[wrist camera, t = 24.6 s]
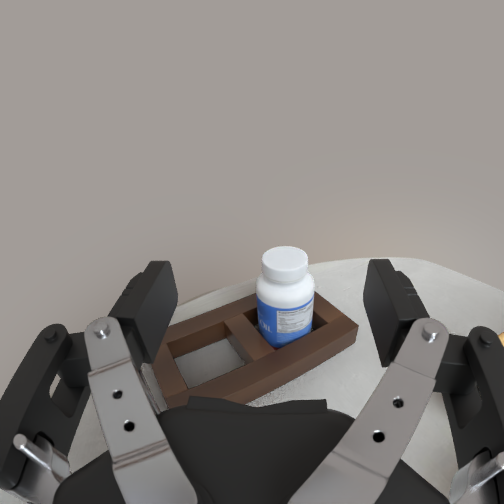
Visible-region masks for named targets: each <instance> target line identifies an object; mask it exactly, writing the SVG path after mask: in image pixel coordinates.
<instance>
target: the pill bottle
mask: <svg viewBox="0 0 504 504" xmlns="http://www.w3.org/2000/svg"><path fill="white" fill-rule="evenodd" d="M314 288H315V284H314V279H313V277H312V276H311V274H310V273H309V272H308V256H307V254H306V253H305V252H304V251H303V250H301V249H299V248H296V247H291V246H280V247H275V248H272V249H270V250H268V251H266V252H265V253H264V254H263V256H262V273H261V274H260V275H259V277H258V279H257V281H256V299H257V310H258V323H259V333H260V334H261V335H262V336H263V338H264V339H265V340H266V341H267V342H268V343H269V344H270V346H271V347H272V348H273V349H274V350H275V351H276V350H278V349H280V348H282V347H284V346H286V345H288V344H290V343H292V342H294V341H296V340H298V339H300V338H302V337H303V336H305V335H307V334H309V333H311V327H312V315H313V302H314Z"/></svg>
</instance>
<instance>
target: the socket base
mask: <svg viewBox="0 0 504 504" xmlns="http://www.w3.org/2000/svg"><path fill="white" fill-rule="evenodd" d="M257 324H259V323H258V310H257V299H256V293H255V294H252V295H250V296H247V297H245V298H242V299H240V300H237V301H234V302H232V303H229V304H227V305H224V306H222V307H219V308H217V309H214V310H211V311H209V312H206V313H203V314H201V315H198V316H196V317H193V318H190V319H188V320H185V321H182V322H179V323H177V324H174V325H171V326H169V327H168V328H167V330H166V333H165V335H164V338H163V340H162V343H161V345H160V348H159V350H158V353H157V355H156V358H155V361H154V363H153V364H151V366H152V369H153V371H154V374H155V377H156V379H157V382H158V384H159V386H160V389H161V391H162V394H163V396H164V398H165V401H166V403H167V405H168V408H169V409H170V408H174V407H177V406H182V405H187V403H188V399H189V395H190V396H200V397H211V398H222V399H226V400H229V401H233V402H236V403H240V404H243V405H244V404H246V403H249V402H251V401H253V400H255V399H257V398H259V397H261V396H263V395H265V394H267V393H269V392H271V391H273V390H275V389H276V388H278V387H280V386H282V385H284V384H286V383H288V382H290V381H291V380H293V379H295V378H297V377H299V376H300V375H302V374H304V373H306V372H308V371H309V370H311V369H313V368H314V367H316V366H318V365H320V364H321V363H323V362H325V361H326V360H328V359H330V358H331V357H333V356H335V355H336V354H338V353H339V352H341V351H343V350H344V349H346V348H347V347H349V346H350V345H352V344H354V343H355V340H356V336H357V332H358V327H359V325H357V324H356V323H355V322H354V321H352V320H351V319H350V318H348V317H347V316H346V315H345V314H343V313H342V312H341V311H339V310H338V309H337V308H336V307H334V306H333V305H332V304H331V303H329V302H328V301H327V300H325V299H324V298H323V297H322V296H320V295H319V294H318V293H316V292H315V291H314V302H313V315H312V328H313V329H315V331H313V332H311V333H309V334H307V335H305V336H303V337H302V338H300V339H298V340H296V341H294V342H292V343H290V344H288V345H286V346H284V347H282V348H280V349H278V350H276V351H275V350H274V349H273V348H272V347H271V346H270V344H269V343H268V342H267V341H266V340H265V339H264V338H263V336H262V335H261V334H260V333H259V332H258V331H257V330H256V328H255V327H254V326H255V325H257ZM224 338H227V339H228V340H229V342H230V343H231V345H232V346H233V347H234V349H235V350H236V351H237V353H238V354H239V356H240V357H241V358H242V360H243V361H244V362H245V364H246V365H244V366H242V367H240V368H238V369H235V370H233V371H231V372H229V373H226V374H224V375H222V376H220V377H217V378H215V379H213V380H210V381H208V382H205V383H203V384H201V385H198V386H196V387H193V388H191V389H188V387H187V385H186V383H185V381H184V379H183V377H182V375H181V373H180V371H179V369H178V367H177V365H176V363H175V361H174V358H177V357H179V356H182V355H184V354H187V353H190V352H192V351H195V350H197V349H200V348H202V347H205V346H207V345H210V344H212V343H215V342H217V341H219V340H222V339H224Z"/></svg>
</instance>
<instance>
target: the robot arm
mask: <svg viewBox="0 0 504 504" xmlns="http://www.w3.org/2000/svg"><path fill="white" fill-rule="evenodd" d="M177 302H178V293H177V288H176V284H175V280H174V275H173V271H172V267H171V264H170V262H169V261H151V262H150V263H149V264H148V266H147V267H146V269H145V270H144V272H143V273H141V272H140V273H139V274H137V275H136V276H135V277H133V278H132V279H131V280H130V282H129V283H128V285H127V287H126V289H124V291H123V292H122V295H121V296H120V297H119V299H118V300H117V302H116V303H115V305H114V306H113V308H112V310H111V311H110V313H109V315H108V316H107V317H102V318H98V319H96V320H94V321H93V322H91V323H90V324H89V325H88V326H87V328H86V329H85V332H80V333H73V334H69V333H68V332H67V329H66V328H65V326H63V325H62V324H52V325H50V326H48V327H46V328H44V329H43V330H42V331H41V332H40V334H39V335H38V336H37V338H36V340H35V341H34V343H33V344H32V346H31V348H30V349H29V351H28V352H27V354H26V356H25V357H24V359H23V361H22V362H21V364H20V366H19V367H18V369H17V371H16V373H15V374H14V376H13V378H12V379H11V381H10V383H9V385H8V387H7V389H6V390H5V392H4V394H3V396H2V398H1V400H0V488H1V489H2V490H4V491H6V492H7V493H9V494H11V495H13V496H14V497H16V498H18V499H20V500H22V501H24V502H27V503H29V504H504V346H503V344H502V342H501V340H500V338H499V337H498V335H497V334H496V333H495V332H494V331H492V330H491V329H489V328H487V327H483V326H478V327H475V328H473V329H472V330H471V331H470V333H469V335H468V337H465V336H458V335H452V334H449V333H448V330H447V328H446V327H445V326H444V325H443V324H442V323H441V322H439V321H437V320H435V319H432V318H430V317H429V315H428V313H427V311H426V309H425V307H424V305H423V303H422V301H421V299H420V297H419V296H418V295H417V292H416V290H415V288H414V286H413V285H412V283H411V281H410V279H409V278H408V277H407V276H406V275H404V274H403V273H402V272H401V271H395V270H394V268H393V266H392V264H391V262H390V261H389V259H371V260H370V261H369V264H368V270H367V275H366V281H365V286H364V292H363V302H364V307H365V310H366V313H367V317H368V320H369V323H370V326H371V330H372V333H373V336H374V340H375V343H376V347H377V350H378V354H379V358H380V361H381V365H382V367H388V369H387V370H386V372H385V374H384V376H383V377H382V379H381V381H380V382H379V384H378V386H377V387H376V389H375V390H374V392H373V394H372V395H371V397H370V398H369V400H368V401H367V403H366V405H365V406H364V408H363V409H362V411H361V412H360V414H359V415H358V417H357V418H356V419H354V418H352V417H351V416H349V415H347V414H344V413H342V412H339V411H335V410H332V409H327V402H326V399H321V400H292V401H287V402H283V403H278V404H273V405H268V406H263V407H251V406H247V405H243V404H240V403H236V402H233V401H229V400H226V399H222V398H211V397H200V396H190V395H189V399H188V403H187V405H182V406H177V407H174V408H170V409H168V410H165V411H163V412H160V410H159V408H158V406H157V404H156V402H155V400H154V398H153V396H152V394H151V391H150V389H149V387H148V385H147V383H146V380H145V378H144V376H143V373H142V371H141V369H140V368H141V365H142V363H150V364H153V363H154V361H155V358H156V355H157V353H158V350H159V348H160V345H161V343H162V340H163V338H164V335H165V333H166V330H167V328H168V325H169V323H170V321H171V318H172V316H173V313H174V311H175V308H176V306H177ZM56 374H58V375H59V377H60V378H61V379H60V381H59V383H58V385H57V387H56V390H55V392H54V394H53V396H52V398H50V394H49V390H50V386H51V384H52V382H53V380H54V378H55V376H56ZM477 386H478V389H479V391H480V394H481V397H482V400H481V397H480V394H479V391H478V389H477ZM432 391H433V392H441V393H442V396H443V400H444V404H445V408H446V412H447V415H448V420H449V424H450V428H451V432H452V437H453V442H454V447H455V452H456V457H457V462H458V468H459V470H458V471H457V473H456V474H455V475H454V477H453V479H452V482H451V489H450V497H449V500H448V499H447V498H446V497H445V496H444V495H443V494H442V493H440V492H439V491H438V490H437V489H436V488H434V487H433V486H432V485H431V484H430V483H428V482H427V481H426V480H425V479H424V478H422V477H421V476H420V475H419V474H418V473H417V472H415V471H414V470H413V469H412V468H411V467H410V466H408V465H407V464H406V463H405V462H404V461H403V460H401V459H400V458H401V456H402V454H403V453H404V451H405V449H406V447H407V445H408V443H409V441H410V439H411V437H412V435H413V433H414V431H415V429H416V427H417V425H418V423H419V421H420V419H421V417H422V414H423V412H424V410H425V408H426V405H427V403H428V401H429V398H430V396H431V394H432ZM91 393H92V397H93V401H94V404H95V408H96V411H97V415H98V418H99V422H100V425H101V428H102V431H103V435H104V438H105V441H106V444H107V447H108V449H109V450H107V451H106V452H104V453H103V454H101V455H100V456H98V457H97V458H95V459H94V460H92V461H91V462H89V463H88V464H86V465H85V466H83V467H82V468H80V469H79V470H77V471H76V472H74V473H73V474H72V473H71V472H70V471H69V470H70V466H69V462H68V459H67V456H68V453H69V450H70V447H71V444H72V441H73V439H74V436H75V433H76V430H77V427H78V425H79V422H80V419H81V417H82V414H83V412H84V409H85V406H86V404H87V401H88V399H89V396H90V394H91Z"/></svg>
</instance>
